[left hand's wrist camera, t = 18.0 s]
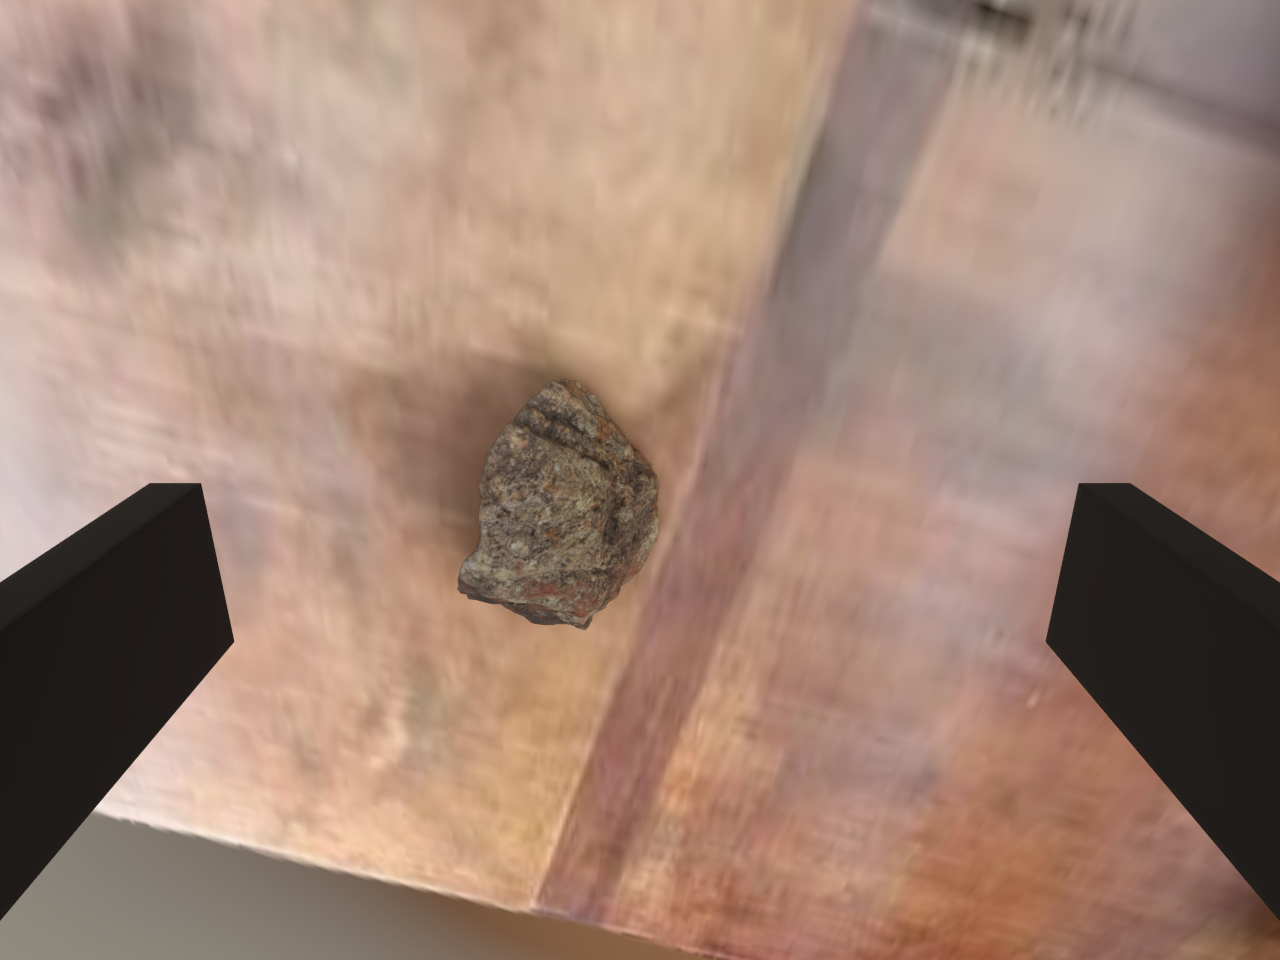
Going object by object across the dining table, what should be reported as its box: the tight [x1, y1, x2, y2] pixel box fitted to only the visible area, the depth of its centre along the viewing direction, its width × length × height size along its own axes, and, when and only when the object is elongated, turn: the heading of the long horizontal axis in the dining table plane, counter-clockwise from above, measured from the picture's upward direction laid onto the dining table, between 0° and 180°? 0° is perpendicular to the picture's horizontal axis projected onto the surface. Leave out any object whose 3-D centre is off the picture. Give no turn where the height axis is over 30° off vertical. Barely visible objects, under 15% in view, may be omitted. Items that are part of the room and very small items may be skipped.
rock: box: [457, 380, 659, 630], centre depth 41 cm, size 14×9×10 cm
